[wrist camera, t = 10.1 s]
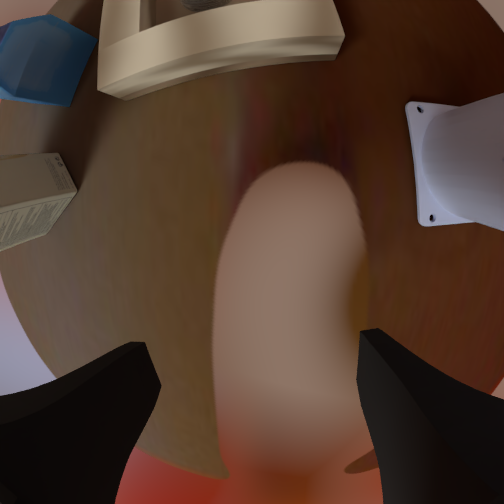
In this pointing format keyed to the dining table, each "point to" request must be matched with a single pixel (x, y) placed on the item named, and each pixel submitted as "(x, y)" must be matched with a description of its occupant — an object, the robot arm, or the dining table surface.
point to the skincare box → (31, 195)
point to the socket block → (207, 40)
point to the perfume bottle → (42, 60)
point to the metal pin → (203, 4)
